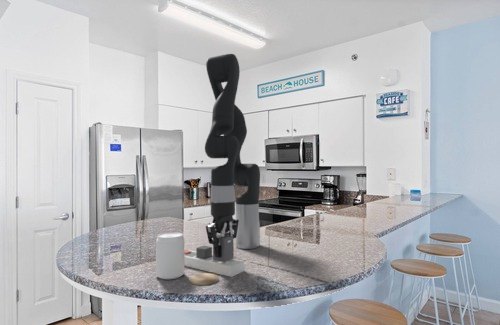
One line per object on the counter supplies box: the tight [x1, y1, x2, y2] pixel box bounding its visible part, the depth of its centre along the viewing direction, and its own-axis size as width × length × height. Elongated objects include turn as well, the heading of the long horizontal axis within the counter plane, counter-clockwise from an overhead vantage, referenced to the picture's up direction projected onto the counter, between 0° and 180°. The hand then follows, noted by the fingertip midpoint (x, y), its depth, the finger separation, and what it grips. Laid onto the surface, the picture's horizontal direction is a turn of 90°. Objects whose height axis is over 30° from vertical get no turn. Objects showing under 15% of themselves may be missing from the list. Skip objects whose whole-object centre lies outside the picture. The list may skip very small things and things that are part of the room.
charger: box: [212, 235, 235, 262], centre depth 98 cm, size 4×5×7 cm
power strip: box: [184, 245, 245, 278], centre depth 102 cm, size 6×26×6 cm, turn 56°
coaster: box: [189, 272, 219, 286], centre depth 90 cm, size 8×8×1 cm
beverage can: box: [155, 232, 186, 280], centre depth 93 cm, size 8×8×12 cm
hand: (223, 254), depth 98 cm, fingers closed on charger, 4 cm apart
